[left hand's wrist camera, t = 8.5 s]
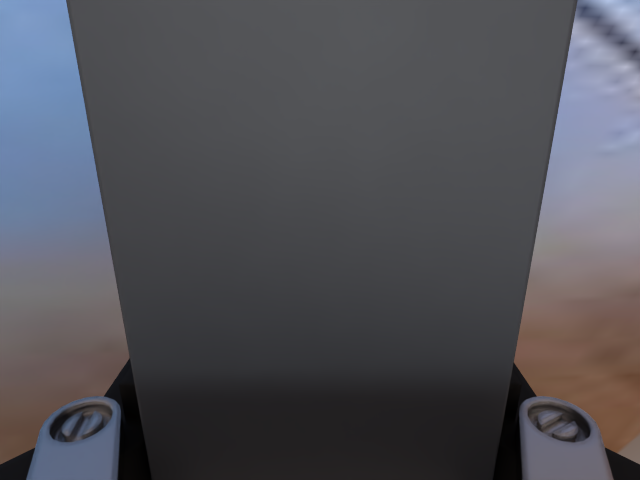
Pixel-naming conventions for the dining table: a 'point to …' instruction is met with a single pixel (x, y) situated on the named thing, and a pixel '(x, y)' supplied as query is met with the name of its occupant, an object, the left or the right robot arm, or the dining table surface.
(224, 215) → the beam
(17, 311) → the dining table surface
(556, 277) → the dining table surface
